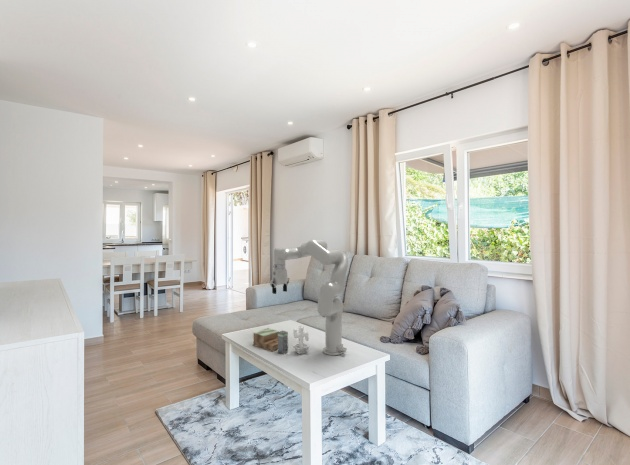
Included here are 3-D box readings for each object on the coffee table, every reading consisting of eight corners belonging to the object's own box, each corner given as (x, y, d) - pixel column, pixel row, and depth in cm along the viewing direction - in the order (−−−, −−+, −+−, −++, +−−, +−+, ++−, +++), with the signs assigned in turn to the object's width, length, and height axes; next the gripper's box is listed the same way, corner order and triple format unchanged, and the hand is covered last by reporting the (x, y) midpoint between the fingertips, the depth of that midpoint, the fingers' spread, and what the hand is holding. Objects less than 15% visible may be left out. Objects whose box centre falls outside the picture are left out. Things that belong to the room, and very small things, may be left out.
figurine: (311, 352, 195) (311, 327, 195) (296, 355, 190) (296, 329, 190) (305, 348, 201) (305, 324, 201) (291, 351, 196) (291, 326, 196)
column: (287, 352, 195) (287, 331, 195) (282, 354, 192) (282, 333, 192) (282, 350, 198) (282, 330, 198) (277, 352, 195) (277, 332, 195)
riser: (286, 346, 206) (286, 333, 206) (272, 351, 196) (272, 338, 196) (267, 340, 216) (267, 328, 216) (253, 345, 207) (253, 332, 207)
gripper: (273, 268, 212) (273, 295, 212) (292, 265, 225) (292, 291, 226) (266, 267, 217) (266, 293, 217) (285, 265, 230) (285, 289, 231)
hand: (279, 292), depth 221 cm, fingers open, 9 cm apart
